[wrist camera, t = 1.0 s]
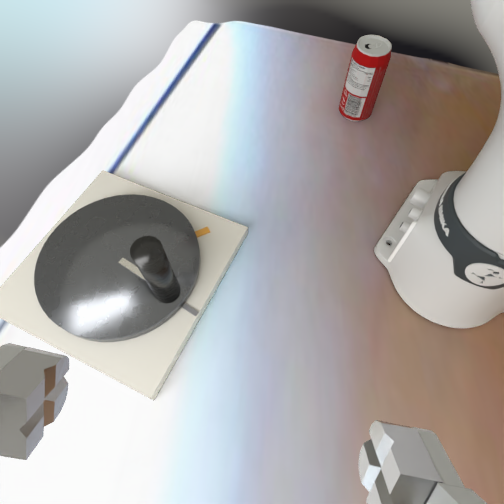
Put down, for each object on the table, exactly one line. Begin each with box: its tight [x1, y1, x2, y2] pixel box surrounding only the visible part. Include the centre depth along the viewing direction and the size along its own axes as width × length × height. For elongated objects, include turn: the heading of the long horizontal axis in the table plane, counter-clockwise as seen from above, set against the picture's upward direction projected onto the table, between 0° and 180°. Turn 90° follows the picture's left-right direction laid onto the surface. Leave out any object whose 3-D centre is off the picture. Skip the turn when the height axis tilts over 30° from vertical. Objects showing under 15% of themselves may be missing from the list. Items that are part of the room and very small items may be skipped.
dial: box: [34, 194, 201, 342], centre depth 41 cm, size 20×20×12 cm
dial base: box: [0, 171, 248, 401], centre depth 47 cm, size 24×24×2 cm
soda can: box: [339, 35, 391, 121], centre depth 57 cm, size 6×6×12 cm
